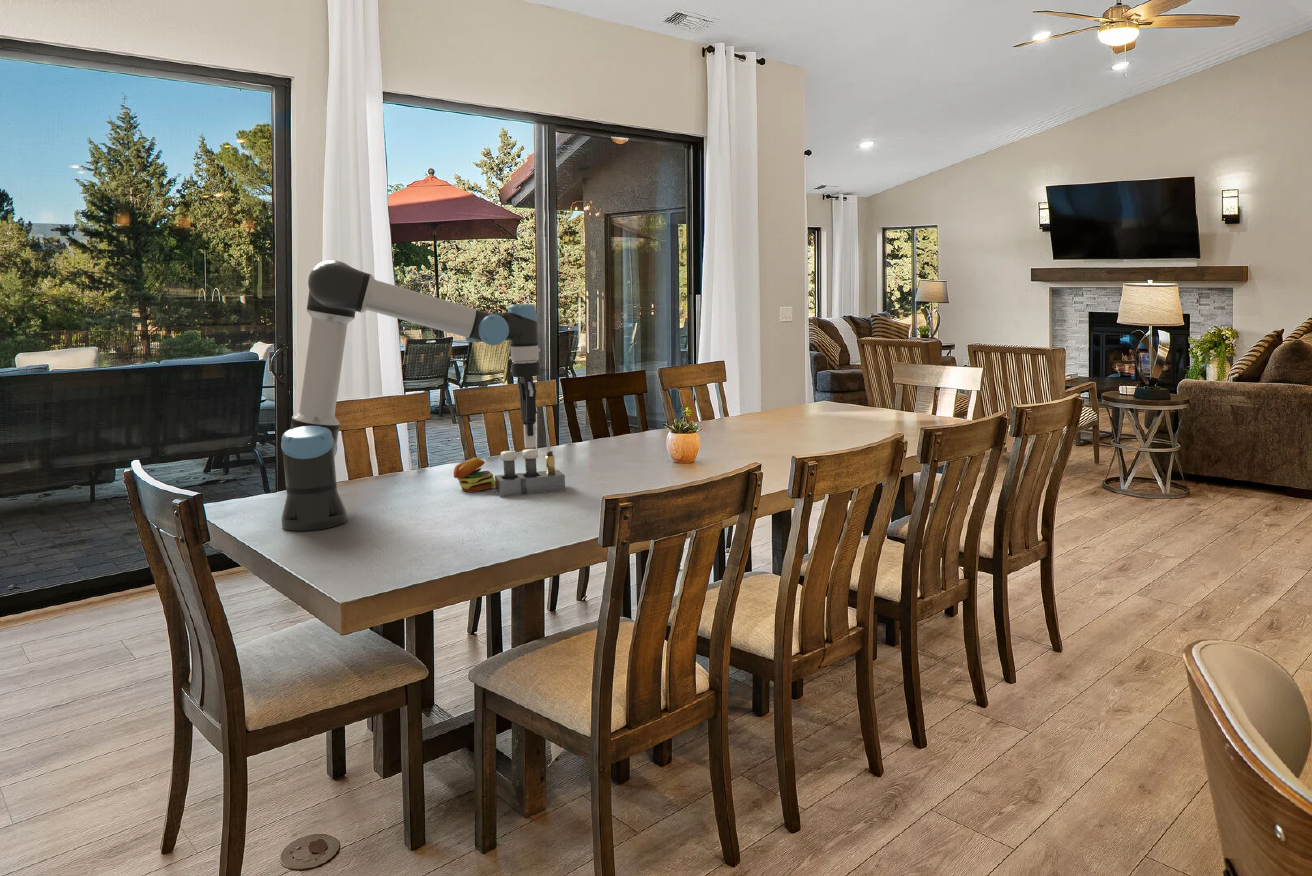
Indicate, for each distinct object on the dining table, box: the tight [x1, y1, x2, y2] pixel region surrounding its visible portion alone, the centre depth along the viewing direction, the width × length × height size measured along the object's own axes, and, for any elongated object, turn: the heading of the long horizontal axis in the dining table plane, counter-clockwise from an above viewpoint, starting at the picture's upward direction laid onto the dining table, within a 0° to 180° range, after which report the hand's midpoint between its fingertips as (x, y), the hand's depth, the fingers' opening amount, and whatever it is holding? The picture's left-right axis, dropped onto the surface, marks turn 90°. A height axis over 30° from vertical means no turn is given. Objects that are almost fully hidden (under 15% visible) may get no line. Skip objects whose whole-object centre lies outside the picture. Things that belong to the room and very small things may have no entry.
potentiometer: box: [545, 450, 556, 474], centre depth 256 cm, size 2×2×6 cm
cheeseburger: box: [453, 457, 496, 493], centre depth 260 cm, size 10×11×10 cm
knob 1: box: [500, 450, 517, 478], centre depth 252 cm, size 4×4×7 cm
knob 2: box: [522, 448, 539, 476], centre depth 254 cm, size 4×4×7 cm
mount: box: [494, 469, 566, 498], centre depth 255 cm, size 18×8×4 cm, turn 108°
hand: (530, 447), depth 254 cm, fingers closed
